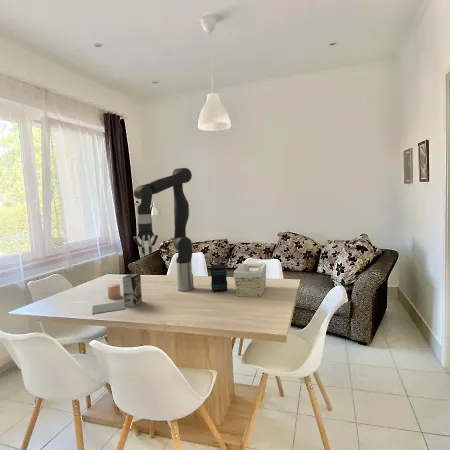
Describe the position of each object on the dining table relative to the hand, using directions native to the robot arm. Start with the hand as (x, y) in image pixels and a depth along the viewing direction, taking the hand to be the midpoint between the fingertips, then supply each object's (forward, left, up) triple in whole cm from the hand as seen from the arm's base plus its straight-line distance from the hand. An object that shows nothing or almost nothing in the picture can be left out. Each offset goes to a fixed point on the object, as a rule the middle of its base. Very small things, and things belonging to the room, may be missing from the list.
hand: (146, 253), depth 181 cm
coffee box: (+9, 0, -27) cm, 29 cm away
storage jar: (-42, -1, -27) cm, 50 cm away
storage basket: (-57, +11, -27) cm, 65 cm away
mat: (+22, 0, -27) cm, 35 cm away
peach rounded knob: (+18, -20, -27) cm, 38 cm away
